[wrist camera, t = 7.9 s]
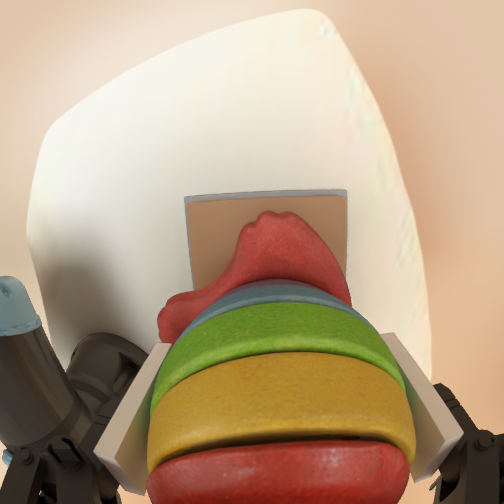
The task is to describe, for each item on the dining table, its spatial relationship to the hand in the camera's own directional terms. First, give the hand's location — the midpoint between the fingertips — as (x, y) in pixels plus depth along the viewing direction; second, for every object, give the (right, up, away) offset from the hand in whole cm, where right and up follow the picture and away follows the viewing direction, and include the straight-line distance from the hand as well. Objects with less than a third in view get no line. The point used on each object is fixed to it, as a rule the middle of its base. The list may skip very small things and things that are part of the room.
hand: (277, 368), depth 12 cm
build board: (+1, +4, +17) cm, 18 cm away
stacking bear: (0, +1, +4) cm, 4 cm away
